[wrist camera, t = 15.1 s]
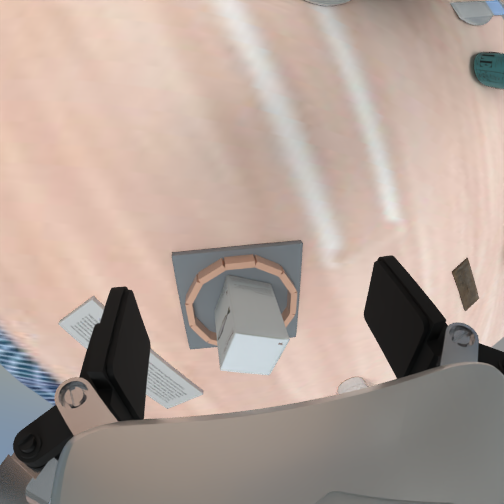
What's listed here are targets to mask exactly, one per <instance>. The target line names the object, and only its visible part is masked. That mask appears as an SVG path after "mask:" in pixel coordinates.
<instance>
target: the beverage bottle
mask: <svg viewBox="0 0 504 504" xmlns="http://www.w3.org/2000/svg"><path fill="white" fill-rule="evenodd" d="M474 70H475V74H476V76H477V78H478V80H479V81H480V82H481V83H482V84H484V85H485V86H486V87H487V86H489V87H492V88H493V87H495V89H496V88H497V89H498V88H500V89H502V90H503V89H504V54H500V53H496V52H494V53H492V52H491V53H487V52H484V51H483V52H482V53H479V54H477V56H476V57H475V60H474Z"/></svg>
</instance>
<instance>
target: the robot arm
mask: <svg viewBox="0 0 504 504" xmlns="http://www.w3.org/2000/svg"><path fill="white" fill-rule="evenodd" d="M304 1H307V2H310V3H313V4H317V5H322V6H334V5H340V4H343V3H346V2H348V1H350V0H304ZM500 1H501V2H502V3H503V4H504V0H500ZM364 318H365V321H366V322H367V324H368V326H369V328H370V330H371V331H372V333H373V335H374V337H375V338H376V340H377V342H378V344H379V346H380V348H381V349H382V351H383V353H384V355H385V357H386V359H387V360H388V362H389V364H390V366H391V368H392V370H393V372H394V373H395V375H396V377H397V379H395V380H392V381H388V382H385V383H381V384H378V385H374V386H370V387H367V388H363V389H359V390H355V391H351V392H346V393H342V394H338V395H333V396H329V397H324V398H319V399H315V400H310V401H304V402H299V403H294V404H288V405H282V406H276V407H270V408H263V409H256V410H249V411H241V412H233V413H224V414H214V415H202V416H190V417H176V418H159V419H144V409H145V397H146V386H147V376H148V366H149V357H150V340H149V337H148V334H147V332H146V329H145V326H144V323H143V320H142V318H141V315H140V312H139V309H138V306H137V303H136V300H135V297H134V294H133V291H132V290H128V288H127V287H115V288H111V290H110V293H109V296H108V299H107V302H106V305H105V308H104V311H103V314H102V318H101V321H100V323H97V324H96V325H95V326H94V329H93V332H92V335H91V338H90V342H89V345H88V348H87V352H86V355H85V359H84V362H83V366H82V370H81V373H80V377H79V378H78V377H75V378H70V379H68V380H66V381H64V382H63V383H62V384H60V386H59V387H58V388H57V390H56V393H55V403H56V405H55V406H54V407H52V408H51V409H50V410H48V411H47V412H45V413H44V414H43V415H42V416H40V417H39V418H37V419H36V420H35V421H33V422H32V423H30V424H29V425H28V426H26V427H25V428H24V429H22V430H21V431H20V432H19V433H18V434H17V436H16V437H15V440H14V443H13V449H14V453H13V455H12V456H10V455H8V456H7V457H6V458H5V460H4V461H3V462H2V464H1V465H0V504H49V501H50V499H51V503H50V504H504V352H502V351H499V350H496V349H493V348H491V347H488V346H485V345H482V344H480V343H479V339H478V335H477V333H476V332H475V331H474V329H473V328H471V327H470V326H468V325H466V324H464V323H452V324H450V325H449V326H448V325H447V324H446V323H445V322H446V319H445V318H444V316H443V315H442V314H441V313H440V311H439V310H438V309H437V307H436V306H435V305H434V304H433V302H432V301H431V300H430V299H429V297H428V296H427V295H426V294H425V293H424V291H423V290H422V289H421V288H420V286H419V285H418V284H417V283H416V282H415V280H414V279H413V278H412V277H411V276H410V274H409V273H408V272H407V271H406V270H405V269H404V267H403V266H402V265H401V264H400V263H399V262H398V261H397V259H396V258H395V257H394V256H384V257H379V258H378V260H377V261H376V262H375V263H374V266H373V272H372V277H371V282H370V287H369V291H368V296H367V301H366V305H365V310H364Z"/></svg>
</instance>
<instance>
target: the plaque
mask: <svg viewBox="0 0 504 504" xmlns="http://www.w3.org/2000/svg"><path fill="white" fill-rule="evenodd" d="M104 308H105V306H104V305H103V304H101V303H100V302H99V301H98V300H97V299H96V298H95V297H94V296H93V297H91V298H90V299H88V300H87V301H86V302H84V303H83V304H82V305H80V306H79V307H78V308H76V309H75V310H73V311H72V312H71V313H69V314H68V315H67V316H65V317H64V318H63V319H61V320H60V321H59V325H60V326H61V327H62V328H63V329H64V330H65V331H67V332H68V333H69V334H70V335H71V336H72V337H73V338H74V339H76V340H77V341H78V342H79V343H80V344H81V345H83V346H84V347H85V348H86V349H87V348H88V345H89V342H90V338H91V335H92V332H93V329H94V326H95V325H96V324H97V323H100V321H101V318H102V314H103V311H104ZM146 395H148V396H149V397H150V398H152V399H153V400H155V401H156V402H158V403H159V404H161V405H162V406H164V407H165V408H167V409H168V408H171V407H173V406H176V405H178V404H181V403H183V402H186V401H188V400H191V399H193V398H195V397H198V396H200V395H203V390H202V389H201V388H199V387H198V386H197V385H195V384H194V383H193V382H191V381H190V380H189V379H188V378H186V377H185V376H184V375H182V374H181V373H180V372H179V371H177V370H176V369H175V368H174V367H172V366H171V365H170V364H169V363H167V362H166V361H165V360H164V359H163V358H161V357H160V356H159V355H158V354H157V353H155V352H154V351H153V350H152V349H151V348H150V357H149V366H148V376H147V386H146Z"/></svg>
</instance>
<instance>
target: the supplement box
mask: <svg viewBox="0 0 504 504" xmlns="http://www.w3.org/2000/svg"><path fill="white" fill-rule="evenodd" d="M214 312H215V324H216V335H217V345H218V354H219V363H220V370H223V371H231V372H240V373H251V374H262V375H270V374H271V372H272V370H273V368H274V367H275V365H276V363H277V361H278V359H279V358H280V356H281V354H282V352H283V350H284V349H285V347H286V345H287V343H288V342H289V340H290V339H289V336H288V333H287V330H286V327H285V324H284V321H283V318H282V315H281V312H280V309H279V306H278V303H277V300H276V298H275V295H274V292H273V289H272V286H271V284H270V283H265V282H261V281H256V280H251V279H246V278H241V277H236V276H231V275H227V276H226V279H225V283H224V286H223V289H222V292H221V295H220V298H219V300H218V303H217V306H216V308H215V311H214Z"/></svg>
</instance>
